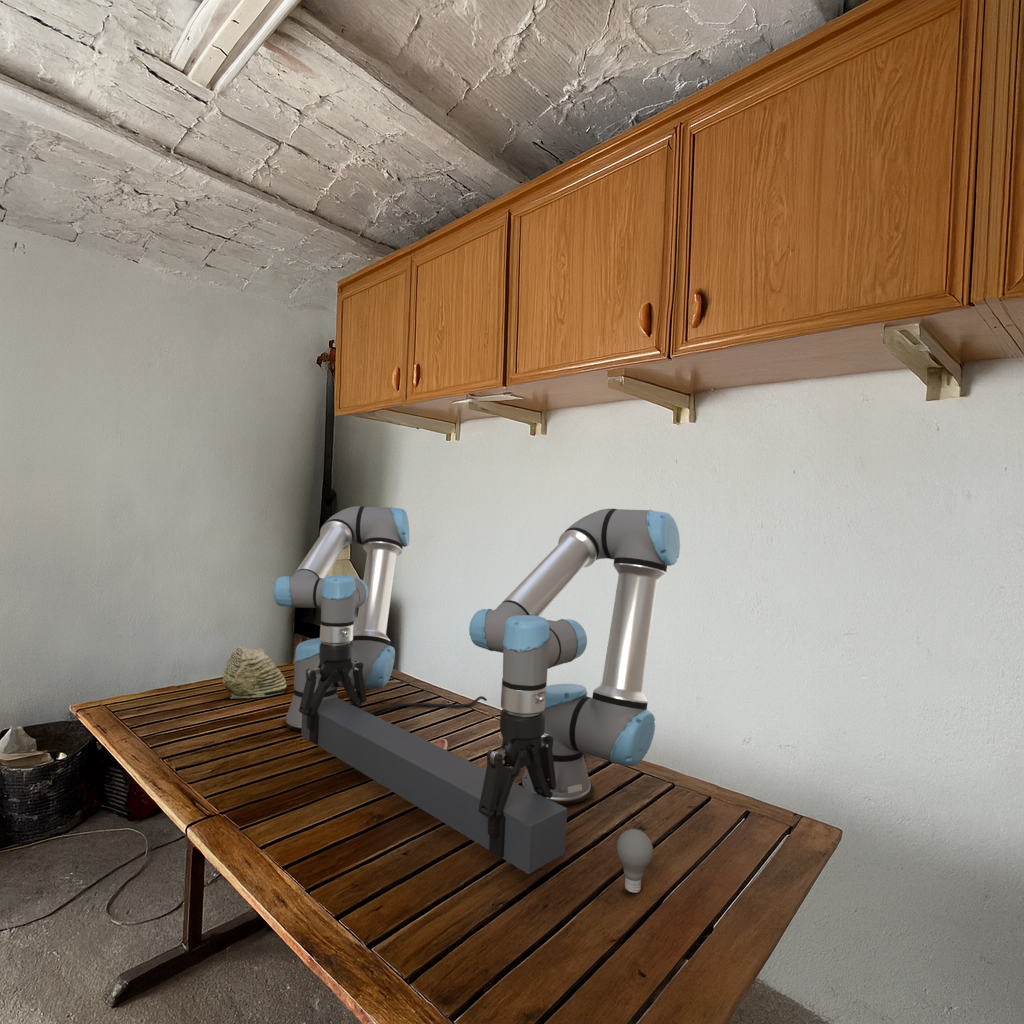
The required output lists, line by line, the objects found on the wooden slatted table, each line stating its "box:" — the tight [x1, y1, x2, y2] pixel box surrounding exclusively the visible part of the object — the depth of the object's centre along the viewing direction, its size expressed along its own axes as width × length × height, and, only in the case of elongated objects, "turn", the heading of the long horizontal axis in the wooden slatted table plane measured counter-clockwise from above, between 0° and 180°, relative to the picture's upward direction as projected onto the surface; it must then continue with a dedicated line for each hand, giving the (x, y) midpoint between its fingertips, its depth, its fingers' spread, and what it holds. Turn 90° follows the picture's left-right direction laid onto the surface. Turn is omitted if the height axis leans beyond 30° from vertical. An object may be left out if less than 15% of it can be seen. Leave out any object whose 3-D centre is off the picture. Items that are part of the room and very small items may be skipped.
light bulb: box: [615, 828, 654, 894], centre depth 106 cm, size 6×6×10 cm
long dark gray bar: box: [300, 697, 568, 875], centre depth 127 cm, size 74×9×8 cm, turn 45°
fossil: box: [222, 646, 288, 699], centre depth 198 cm, size 9×18×15 cm, turn 132°
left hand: (332, 737), depth 149 cm, fingers closed on long dark gray bar, 9 cm apart
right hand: (517, 843), depth 106 cm, fingers closed on long dark gray bar, 9 cm apart
